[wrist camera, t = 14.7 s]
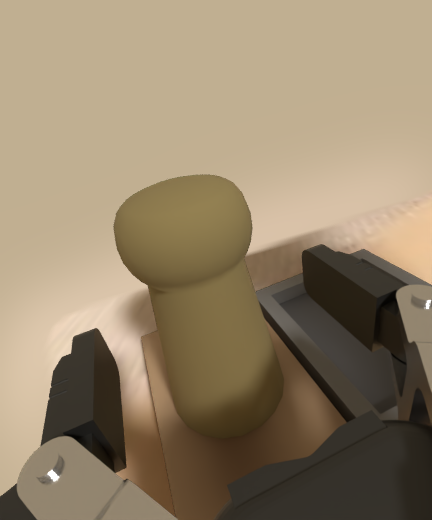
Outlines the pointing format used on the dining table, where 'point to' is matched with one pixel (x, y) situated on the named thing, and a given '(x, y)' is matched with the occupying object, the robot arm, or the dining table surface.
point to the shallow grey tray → (335, 345)
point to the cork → (203, 301)
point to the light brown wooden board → (241, 447)
